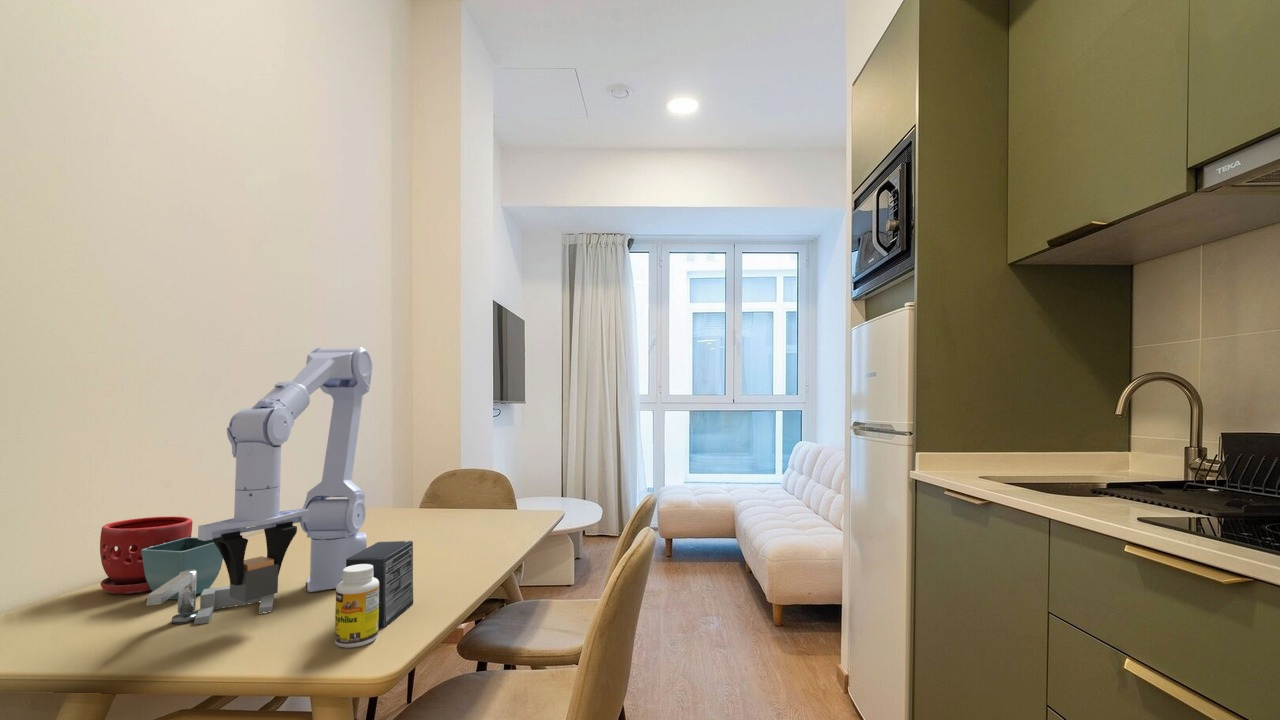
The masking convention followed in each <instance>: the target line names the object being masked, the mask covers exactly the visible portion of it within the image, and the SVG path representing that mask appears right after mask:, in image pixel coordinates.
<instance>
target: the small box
mask: <svg viewBox="0 0 1280 720" xmlns="http://www.w3.org/2000/svg"><path fill="white" fill-rule="evenodd" d="M413 556H414V542H413V540H402V541H401V540H399V541H396V540H394V541H378V542H375V543H374V544H371V545H370V546H367V548H366V549H364V550H362V551H361V552H359V553H357V554H355V555H353V556H351V557H349V558H347V559H346V567H348V566H352V565H357V564H370V565H373V573H374V574H373V577H374V578H376V579H378V581H379V618H378V619H379V620H378V629H385V628H386V627H387V626H389V625H390V624H391V623H392V622H394V621H395V620H396V619H398V618H399V616H401V613H402V614H403V613H404V612H405V611H407V609H408V608H410V607H411V606H413V604H414V575H413V574H414V563H413V562H414V557H413ZM394 619H395V620H394Z"/></svg>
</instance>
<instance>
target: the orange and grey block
mask: <svg viewBox="0 0 1280 720" xmlns="http://www.w3.org/2000/svg"><path fill="white" fill-rule="evenodd" d="M229 586H230V597H232V598H235V599H238V600H241V601H244V602H247V601H250V600H254V599H257V598H261V597H265V596H268V595H272V594H274V595H275V594H278V592H279V591H278V589H279V575H278V564H275V563H274V559H270V558H267V556H263V555H261V556H257V557H252V558H248V559H247V558H246V559H244V571H243V582H242V585H238V586H236V585H232V584H230V583H229Z"/></svg>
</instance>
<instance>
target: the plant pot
mask: <svg viewBox="0 0 1280 720" xmlns="http://www.w3.org/2000/svg"><path fill="white" fill-rule="evenodd" d="M192 533H193V519H192V518H189V517H186V516H153V517H151V516H150V517H141V518H130V519H124V520H123V519H122V520H118V521H113V522H108V523H106V524H104V525H102V527H101V530H100V536H99V537H100V538H99V555H100V561H101V566H102V569H103V571H104V573H105V574H106V576H107V577H106V578H104V579H102V580H101V581H100V583H99V584H100V587H101V589H102V590H104V592H107V593H110V594H117V595H129V594H139V593H145V592H146V593H147V592H152V590H151V588H150V587H149V585H148V583H147V580H146V577H145V573H144V566H143V559H142V551H141V550H142V549H145V548H149V547H153V546H157V545H160V544H164V543H168V542H172V541H176V540H179V539H183V538H188V537H192ZM116 547H117V550H116V549H115V548H116Z"/></svg>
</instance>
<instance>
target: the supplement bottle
mask: <svg viewBox="0 0 1280 720" xmlns="http://www.w3.org/2000/svg"><path fill="white" fill-rule="evenodd" d="M373 574H374V573H373V565H370V564H357V565H352V566H348V567H346V568H344V569H343V576H342V578H343V579H342V580H343V581H342V582H340V583H339V584H338V585H337V587H336V588H335V610H334V611H335V614H334V615H335V616H334V617H335V619H334V621H335V623H334V642H335V645H337V646H338V647H340V648H346V649H351V648H352V649H353V648H358V647H362V646H366V645H368V644H371V643H372V642H373V641H375V640H377V637H378V635H379V628H378V620H379V619H378V618H379V581H378V579H376V578H374V577H373Z"/></svg>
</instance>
